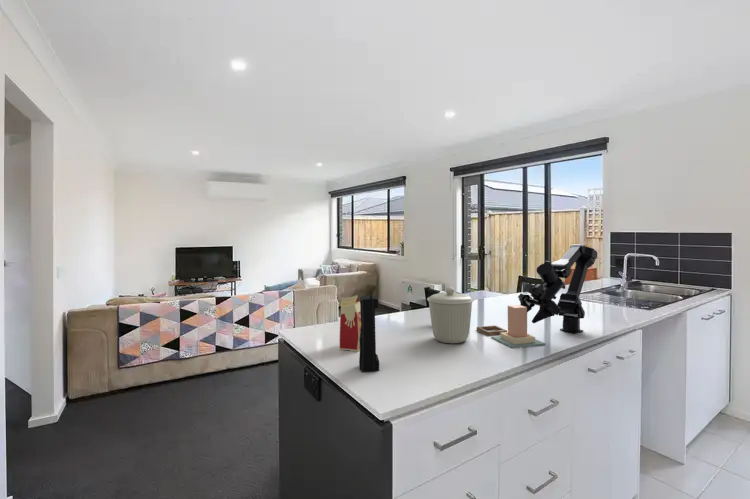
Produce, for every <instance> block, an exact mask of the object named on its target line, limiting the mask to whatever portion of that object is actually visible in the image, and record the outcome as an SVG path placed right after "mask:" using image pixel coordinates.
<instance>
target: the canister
mask: <svg viewBox="0 0 750 499" xmlns="http://www.w3.org/2000/svg"><path fill="white" fill-rule="evenodd" d="M455 290H456V289H455V288H454V287H453V286H448V287H446V288H445V291H446V293H439V292H438V293H434V294H432V295H430V296H428V297H427V298H426V301H427V302H428V305H429V307H428V308H429V314H430V322H431V329H432V334H433V337H434V339H435V340H436V341H438V342H440V343H444V344H460V343H464V342H465V341H467V340H468V337H469V335H470V327H471V319H472V318H471V317H472V310H473V308H472V307H473V302H474V300H475V299H474V298H473V297H471V296H470V295H468V294H466V293H465V294H463V293H458V292H456V291H455Z"/></svg>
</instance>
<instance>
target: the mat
mask: <svg viewBox="0 0 750 499" xmlns="http://www.w3.org/2000/svg"><path fill="white" fill-rule="evenodd" d="M490 338H491V340H495V341H496V342H498V343H501V344H503V345H504V346H506V347H509V348H510V349H521V348H529V346H531V347H539V346H540V345H541V346H546V343H545V342H543V341H540V340H538V339H536V336H534V335H532V334H530V333H527V337H520V338H514V337H511V336H509V335H508V331H507V332H503V333H500V335H491V337H490ZM520 347H521V348H520Z"/></svg>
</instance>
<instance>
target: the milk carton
mask: <svg viewBox="0 0 750 499" xmlns="http://www.w3.org/2000/svg"><path fill="white" fill-rule="evenodd" d="M358 297H359V296H358V295H357V294H356V295H353V296H351V297H347V298H346V297H345V298H344V297H343V298H339V300H340V315H339V316H340V317H339V318H340V320H339V351H344V350H350V351H349V352H353V351H356V352H355V353H360V342H359V338H360V333H361V331H360V330H361V315H360V299H358Z"/></svg>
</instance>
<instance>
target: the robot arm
mask: <svg viewBox="0 0 750 499" xmlns="http://www.w3.org/2000/svg"><path fill="white" fill-rule="evenodd" d="M596 259H598V252H597V250H595V248H592V247H590V246H586V245H585V244H575V243H574V244H570V246H569V248H568V250H567V251H566V252H565V254H564V255H563V256H562V257H561V258H560V259H558V260H555V261H553V262H551V261H548V260H545V261H544V262H543V263H541V264H540V265H539V266H537V268H536V273H537V275H539V277H540V280H541V281H542V282H543V285H542V284H539V283H537V284H536V285H535V284H531V283H525V285H524V288H523V292H526V293H521V292H520V293H519V295H518V296H517V298H518V301H520V302H519V303H520V305H521V306H524V307H527V313H529V312H530V311H531V310H533V308H534V307H536V306H539V310H538V311H537V313H535V315H534V317H533V318H532V320H531V323H533V324H536V323H538V322H541V321H543V320H545V319H548V318H551V317H554V316H560V317H562V316H563V317H562V328H559V330H560V331H563V332H566V333H570V334H577V333H582V332H584V329H581V321H580V320H581V319H584V318H585V315H586V312H585V310H584V307H583V304H582V303H583V302H582V300H581V298H580V297H581V292H582V289H583V287H584V282H585V280H586V276H587V273H588V269H589V268H591V266H593V265H594V264H595V263H596ZM574 265H575V267H574V269H573V273H572V267H573V266H574ZM571 273H572V276H571V279H570V282H569V285H568V289H567V291H566V292H565V293H563V292H562V293H561V294H560V297H559V300H558V302H557V303H556V302H555V300H556V299H557V296H556V295H558V292H559V291H560V290H561V289H563V290H565V289H566V282H565V281H564V280H563V279H568V278H569V277H570V275H571ZM528 293H529V294H528Z"/></svg>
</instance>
